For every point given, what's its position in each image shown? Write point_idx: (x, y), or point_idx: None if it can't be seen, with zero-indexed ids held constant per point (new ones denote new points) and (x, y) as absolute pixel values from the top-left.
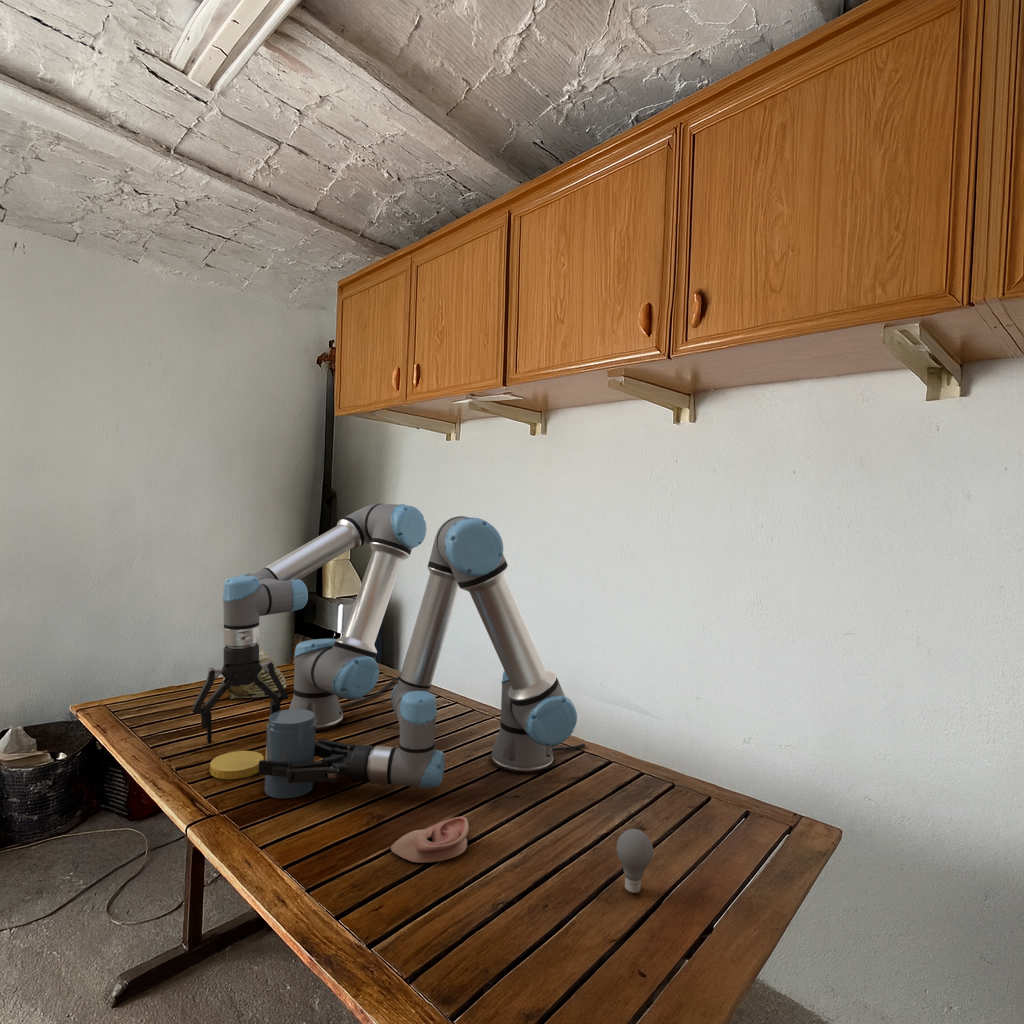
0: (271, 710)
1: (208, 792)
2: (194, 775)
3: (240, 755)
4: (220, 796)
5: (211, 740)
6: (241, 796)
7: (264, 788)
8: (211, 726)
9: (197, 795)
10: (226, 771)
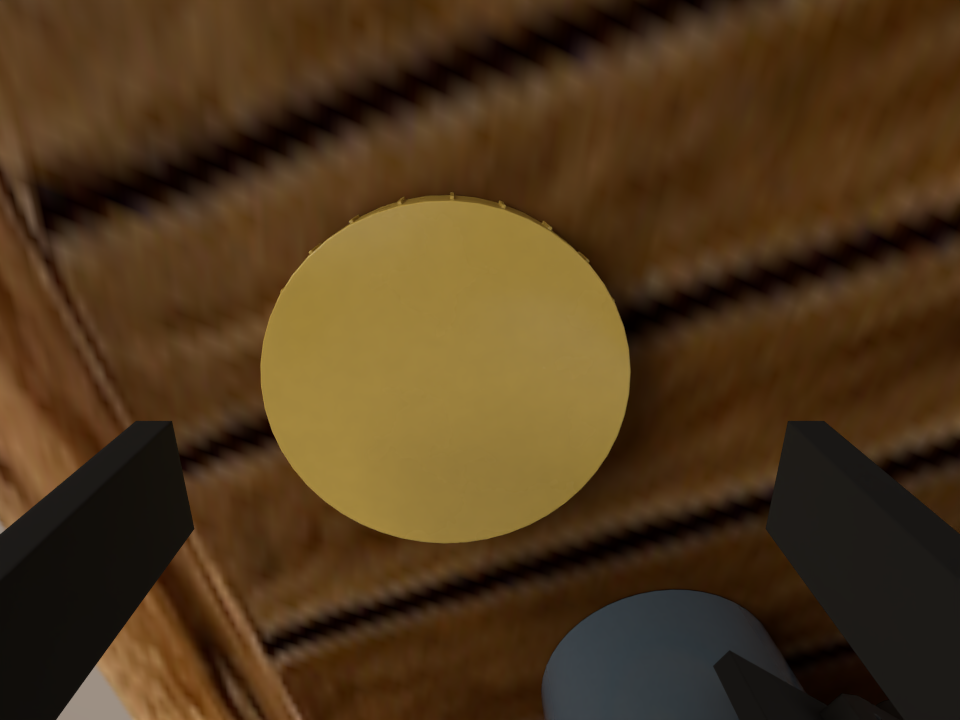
0: (933, 689)
1: (279, 603)
2: (182, 364)
3: (479, 305)
4: (337, 659)
5: (180, 545)
6: (433, 689)
7: (544, 693)
8: (90, 667)
9: (226, 615)
10: (366, 523)
